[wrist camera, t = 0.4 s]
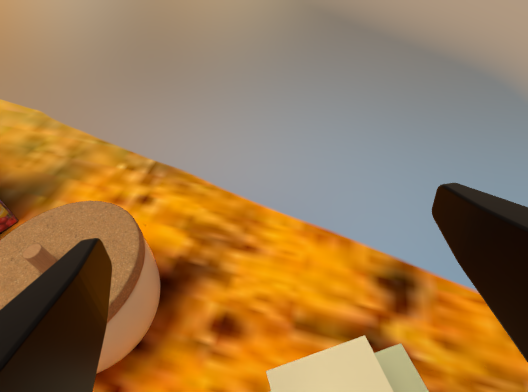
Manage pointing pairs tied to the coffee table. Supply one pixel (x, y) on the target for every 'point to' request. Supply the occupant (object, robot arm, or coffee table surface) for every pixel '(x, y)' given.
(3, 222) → the snack box
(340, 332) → the coffee table surface
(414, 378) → the baseplate
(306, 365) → the bottom brick
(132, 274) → the lidded jar
